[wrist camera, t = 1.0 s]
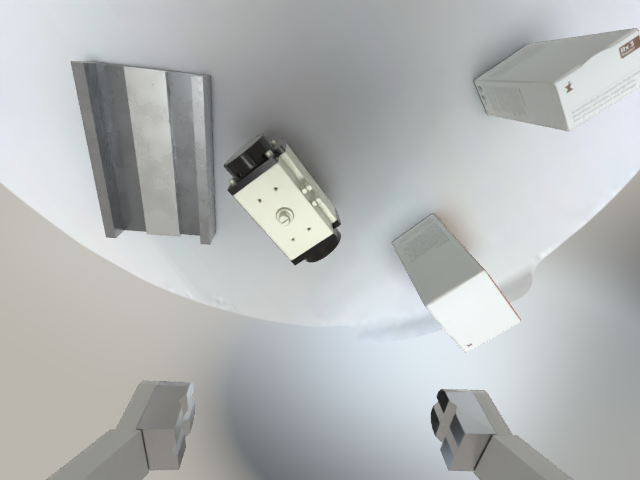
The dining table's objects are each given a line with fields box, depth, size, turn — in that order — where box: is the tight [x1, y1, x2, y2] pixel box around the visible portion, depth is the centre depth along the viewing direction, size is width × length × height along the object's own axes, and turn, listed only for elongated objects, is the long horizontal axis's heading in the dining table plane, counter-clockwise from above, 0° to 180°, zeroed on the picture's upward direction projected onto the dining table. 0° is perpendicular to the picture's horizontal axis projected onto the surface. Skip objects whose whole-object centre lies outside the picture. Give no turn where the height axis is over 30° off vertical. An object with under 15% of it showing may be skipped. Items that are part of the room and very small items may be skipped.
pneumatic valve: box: [224, 134, 341, 265], centre depth 32 cm, size 6×12×12 cm, turn 35°
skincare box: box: [474, 28, 640, 131], centre depth 29 cm, size 6×4×12 cm
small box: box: [392, 214, 521, 353], centre depth 37 cm, size 8×6×13 cm
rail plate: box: [71, 61, 216, 245], centre depth 35 cm, size 17×11×3 cm, turn 174°
